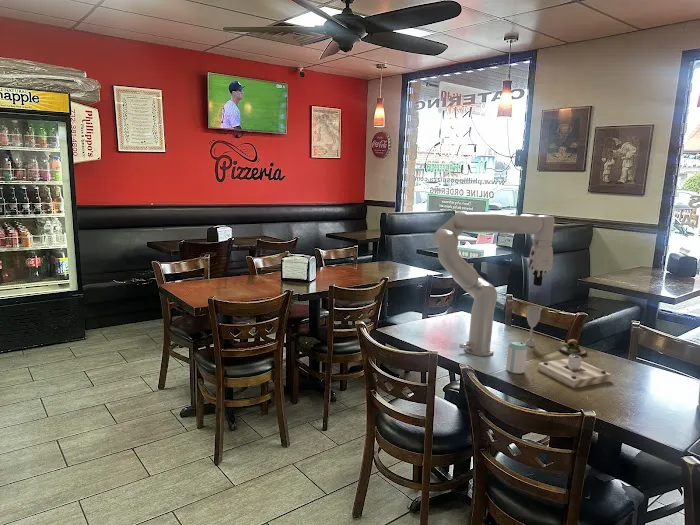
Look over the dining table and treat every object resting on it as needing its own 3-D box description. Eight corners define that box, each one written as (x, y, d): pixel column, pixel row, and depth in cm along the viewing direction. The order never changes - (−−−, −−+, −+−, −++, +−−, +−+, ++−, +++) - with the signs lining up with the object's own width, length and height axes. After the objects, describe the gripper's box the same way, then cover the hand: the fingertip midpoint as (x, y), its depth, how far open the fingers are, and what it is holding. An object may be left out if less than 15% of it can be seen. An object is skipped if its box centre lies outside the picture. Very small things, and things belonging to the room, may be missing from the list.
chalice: (539, 347, 226) (544, 310, 222) (525, 346, 226) (529, 309, 222) (534, 342, 233) (538, 306, 229) (520, 341, 233) (524, 305, 230)
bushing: (573, 378, 192) (575, 359, 190) (564, 374, 196) (566, 355, 194) (581, 377, 194) (584, 357, 192) (572, 372, 198) (574, 353, 196)
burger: (556, 353, 219) (558, 337, 218) (559, 346, 230) (561, 331, 228) (585, 359, 214) (588, 343, 213) (587, 351, 224) (589, 336, 223)
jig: (573, 388, 183) (574, 379, 182) (537, 369, 199) (538, 361, 198) (610, 381, 191) (611, 372, 190) (572, 364, 207) (574, 356, 206)
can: (511, 366, 201) (514, 338, 199) (527, 371, 196) (530, 343, 194) (502, 370, 196) (505, 342, 194) (519, 376, 192) (522, 347, 189)
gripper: (535, 245, 203) (530, 288, 207) (561, 245, 209) (556, 286, 213) (522, 242, 210) (518, 284, 213) (548, 242, 216) (543, 282, 220)
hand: (537, 285), depth 213 cm, fingers closed
